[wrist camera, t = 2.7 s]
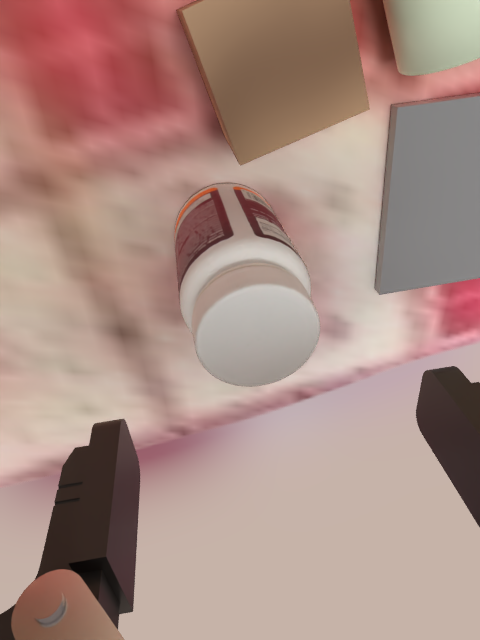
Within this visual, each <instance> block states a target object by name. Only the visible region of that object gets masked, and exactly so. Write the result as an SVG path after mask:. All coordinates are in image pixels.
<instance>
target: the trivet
mask: <svg viewBox="0 0 480 640" xmlns="http://www.w3.org/2000/svg"><path fill="white" fill-rule="evenodd" d="M477 278H480V93H473V94H466V95H459V96H452V97H445V98H437V99H430V100H423V101H416V102H409V103H402V104H394V105H391V116H390V127H389V138H388V149H387V161H386V172H385V183H384V194H383V205H382V216H381V228H380V239H379V250H378V261H377V272H376V283H375V290H376V291H377V292H378V293H379V295H381V294H387V293H393V292H399V291H405V290H411V289H417V288H423V287H429V286H435V285H441V284H447V283H453V282H459V281H465V280H471V279H477Z"/></svg>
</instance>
